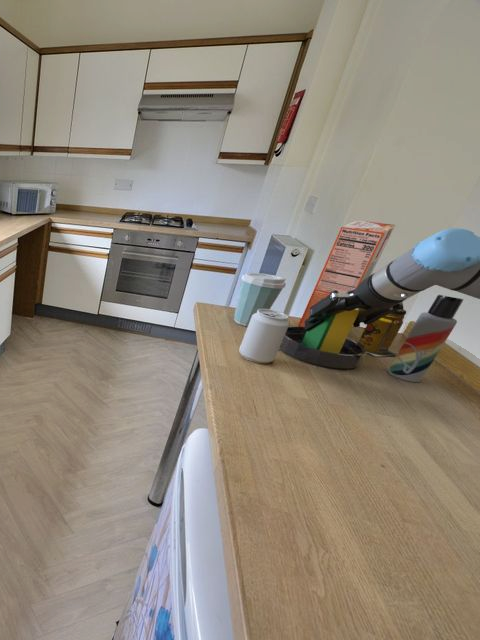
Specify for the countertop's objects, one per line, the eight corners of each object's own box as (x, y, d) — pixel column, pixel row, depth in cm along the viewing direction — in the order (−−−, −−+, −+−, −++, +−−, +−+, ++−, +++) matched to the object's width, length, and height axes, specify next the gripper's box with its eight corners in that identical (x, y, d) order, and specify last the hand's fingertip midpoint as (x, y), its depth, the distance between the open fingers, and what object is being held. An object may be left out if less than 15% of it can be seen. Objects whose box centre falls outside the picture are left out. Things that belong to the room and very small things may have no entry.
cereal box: (313, 317, 129) (357, 220, 116) (345, 326, 124) (395, 225, 111) (293, 335, 115) (341, 226, 102) (329, 345, 110) (384, 232, 97)
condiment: (347, 344, 111) (368, 303, 106) (372, 343, 113) (394, 302, 107) (375, 357, 105) (398, 313, 99) (401, 356, 106) (426, 313, 101)
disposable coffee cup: (218, 318, 124) (235, 270, 118) (241, 314, 128) (258, 268, 122) (252, 332, 115) (272, 281, 109) (276, 328, 120) (296, 278, 113)
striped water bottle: (387, 375, 96) (433, 295, 87) (387, 367, 100) (431, 289, 91) (421, 385, 92) (473, 302, 84) (419, 376, 96) (469, 296, 87)
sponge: (322, 347, 107) (344, 300, 101) (336, 359, 101) (360, 310, 95) (300, 344, 108) (321, 298, 103) (313, 355, 102) (335, 307, 97)
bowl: (377, 372, 97) (385, 357, 95) (306, 368, 97) (313, 353, 95) (321, 340, 113) (328, 327, 111) (260, 337, 112) (265, 324, 111)
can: (230, 353, 103) (247, 308, 97) (250, 349, 106) (267, 305, 100) (259, 367, 97) (279, 320, 91) (280, 362, 99) (299, 316, 94)
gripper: (340, 295, 85) (279, 335, 107) (446, 308, 81) (360, 346, 103) (339, 264, 87) (279, 309, 109) (442, 274, 83) (358, 319, 105)
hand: (319, 327), depth 106 cm, fingers closed on sponge, 5 cm apart
